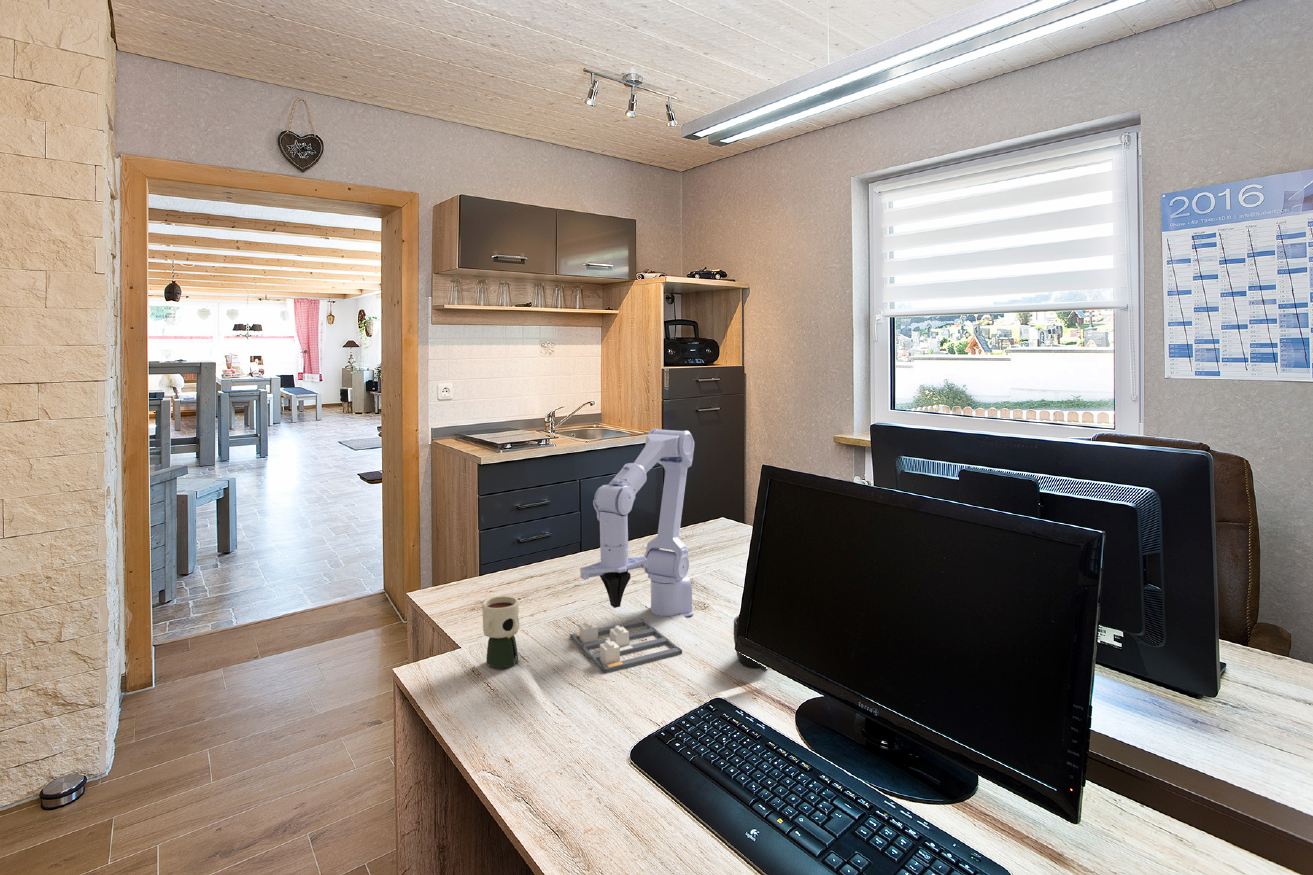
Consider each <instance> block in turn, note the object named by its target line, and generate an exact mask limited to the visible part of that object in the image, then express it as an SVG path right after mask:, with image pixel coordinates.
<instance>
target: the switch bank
mask: <svg viewBox="0 0 1313 875" xmlns="http://www.w3.org/2000/svg"><path fill="white" fill-rule="evenodd" d="M617 625H619V626H620V627H624V628H625V629H626V630H627V629H631V628H632V629H633V628H635V627H636V628H637V627H641V626H644V627H645V629H641V630H637V631H636V630H635V631H631V632H629V641H631V640H636V639H641V638H645V637H649V636H652V635H655V636H657V637H658V638H655V639H650V640H648V641H642V642H638V643H634V644H629V646H625V647H621V648H620V656H623V655H627V654H631V653H635V652H639V651H640V652H641V651H643V650H648V649H651V648H656V647H660V646H664V645H668V646H669V647H671V648H668V649H665V650H661V651H657V652H652V653H649V654H644V655H641V656H637V657H633V658H628V659H624V660H620V662H616V663H612V664H608V665H603V664H602V662H601V661H600V652H597V653H591V651H590V650H592V649H597V648H600V644H603V643H605V641H606V640H609V641H610V637H606V638H605V637H604V638H601V639H598V640H596V641H592V642H587V643H582V642H581V641H580V634H579V632H577V633H571V634H570V635H569V638H570V639H571V640H572V641H573V642H574V644H575V645H576V646H577V647H579V649H580V650H581V651H582V652H583V653H584V654H585V655H586V657H587V658H589V659H590V660H591V662H593V663H594V664H595V666H596V667H597V668H598V669H599V670H600V671H601V672H602V673H603V674H607V673H612V672H614V671H619V670H623V669H627V668H630V667H635V666H638V665H642V664H646V663H649V662H654V661H658V660H662V659H666V658H669V657H674V656H678V655H681V654H683V650H682V649H681V648H680V646H677V644H675V643H674V642H672V641H671V639H668V638H667V636H665V635H664V634H662V633H661V632H660V631H658V630H657V629H656V628H655V627H654V626H652V625H651V624H650V623H648V622H647V621H646V620H644V619H643V618H640V619H636V620H632V621H627V622H622V623H617V624H613V625H608V626H604V627H600V628H599V627H598V636H601V635H604V634H610V629H614V628H615V626H617Z"/></svg>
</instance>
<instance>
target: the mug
mask: <svg viewBox="0 0 1313 875" xmlns="http://www.w3.org/2000/svg"><path fill="white" fill-rule="evenodd" d="M738 619H739V615H736V617H735V618H734V619H733V640H734V642H733V643H734V647H735V652H736V655H737V659H738V662H739V664H740V665H741V666H743V667H745V668H749V669H753V670H754V669H756V670H757V669H760V670H762V671H763V672H767V670H768V669H766V667H764V666H762V665H761V664H758V663H757V662H755V661H753V660H752V659H750V658H747V657H746V656H744V655H742V654H741V653H739V652H738V651H737V650H736V642H737V621H738Z"/></svg>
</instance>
